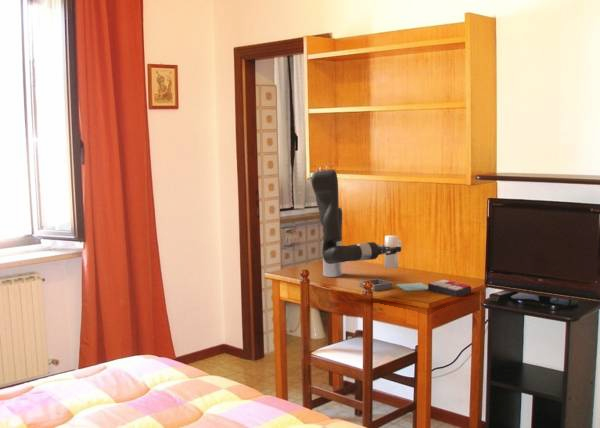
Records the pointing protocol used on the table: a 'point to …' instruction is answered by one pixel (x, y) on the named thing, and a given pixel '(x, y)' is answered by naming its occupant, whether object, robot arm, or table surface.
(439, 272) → the table surface
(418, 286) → the coaster pad
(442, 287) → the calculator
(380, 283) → the holder
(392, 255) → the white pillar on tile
